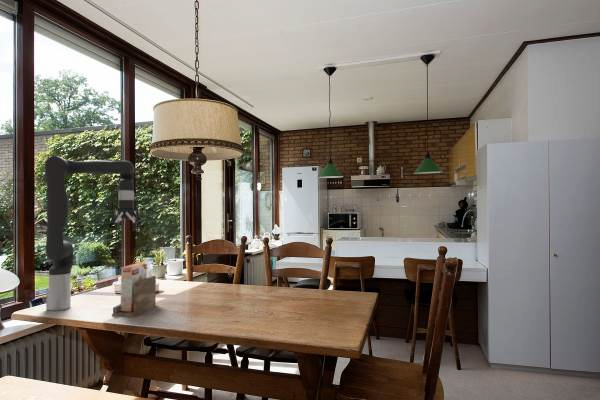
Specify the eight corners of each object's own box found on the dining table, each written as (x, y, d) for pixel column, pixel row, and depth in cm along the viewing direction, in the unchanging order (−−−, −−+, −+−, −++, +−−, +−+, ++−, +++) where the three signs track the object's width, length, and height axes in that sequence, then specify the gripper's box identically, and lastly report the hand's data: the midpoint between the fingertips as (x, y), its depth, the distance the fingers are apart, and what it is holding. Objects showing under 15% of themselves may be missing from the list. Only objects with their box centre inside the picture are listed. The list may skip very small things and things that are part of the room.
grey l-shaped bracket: (112, 316, 170) (112, 283, 171) (132, 304, 190) (132, 275, 191) (137, 316, 170) (138, 283, 170) (155, 305, 190) (155, 275, 190)
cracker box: (132, 312, 173) (132, 267, 174) (119, 312, 174) (120, 267, 174) (147, 304, 187) (147, 263, 188) (135, 304, 188) (136, 262, 188)
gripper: (109, 199, 191) (108, 230, 191) (136, 199, 191) (136, 230, 190) (116, 199, 198) (116, 229, 198) (143, 199, 198) (142, 229, 198)
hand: (126, 230), depth 194 cm, fingers open, 8 cm apart
